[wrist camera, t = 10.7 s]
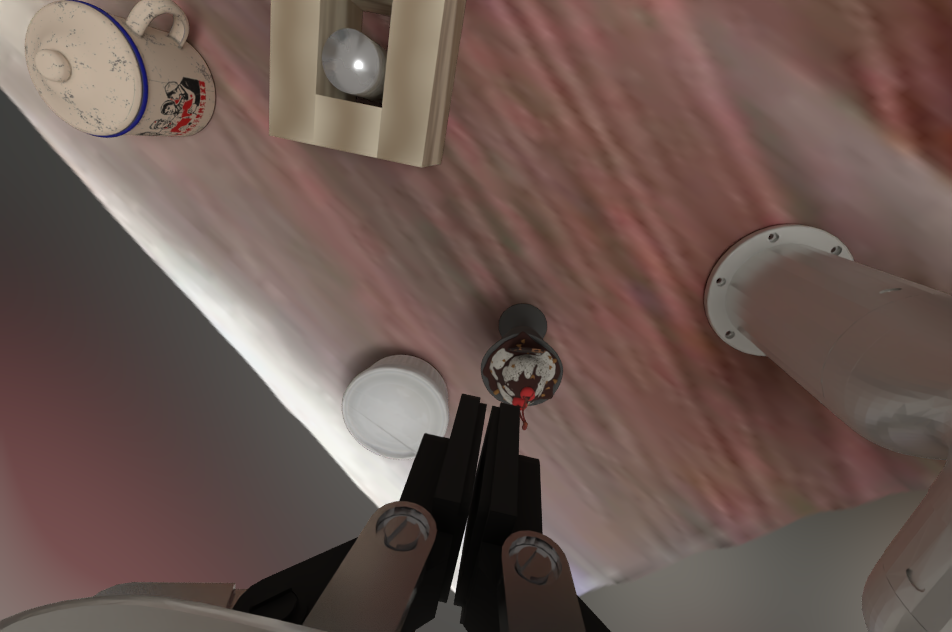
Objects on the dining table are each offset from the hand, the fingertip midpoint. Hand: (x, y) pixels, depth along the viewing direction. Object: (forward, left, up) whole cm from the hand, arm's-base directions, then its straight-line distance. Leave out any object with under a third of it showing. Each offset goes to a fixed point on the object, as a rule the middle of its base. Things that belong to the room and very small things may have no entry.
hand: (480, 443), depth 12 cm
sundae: (-3, +9, -32) cm, 34 cm away
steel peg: (+14, -11, -32) cm, 36 cm away
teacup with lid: (+33, -8, -32) cm, 47 cm away
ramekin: (+8, +20, -32) cm, 39 cm away
